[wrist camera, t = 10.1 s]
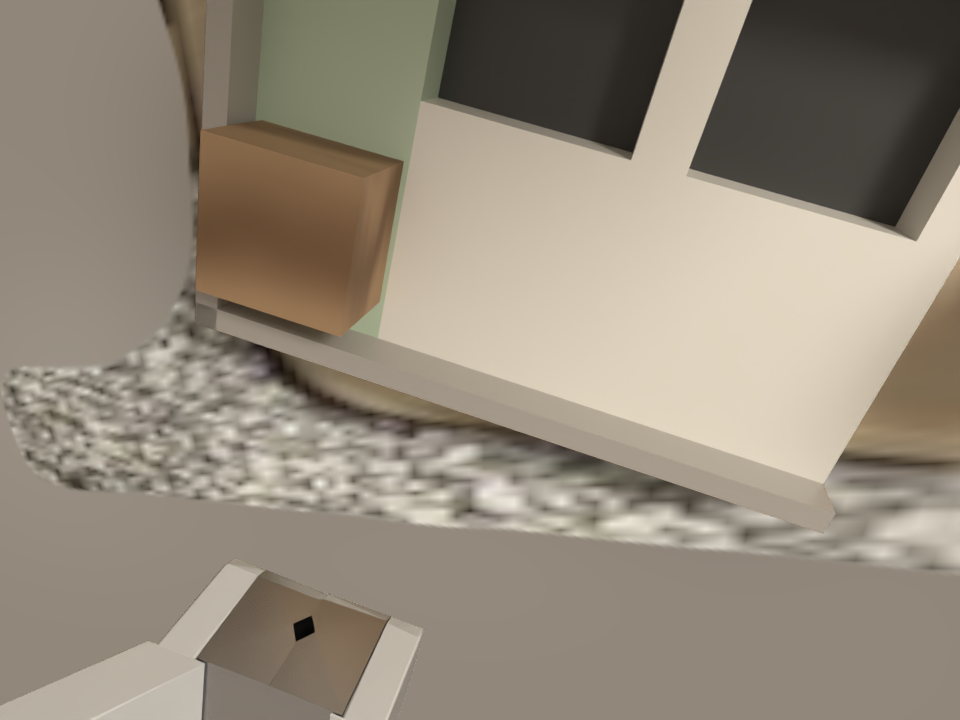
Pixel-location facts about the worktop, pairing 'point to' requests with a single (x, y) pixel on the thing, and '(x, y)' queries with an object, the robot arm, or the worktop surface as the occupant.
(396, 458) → the worktop surface
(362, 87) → the box
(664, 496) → the worktop surface
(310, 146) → the walnut block
